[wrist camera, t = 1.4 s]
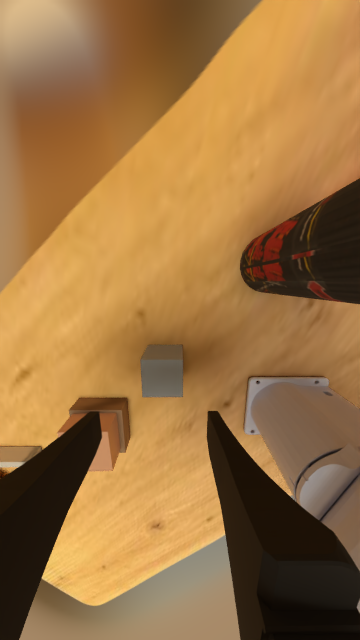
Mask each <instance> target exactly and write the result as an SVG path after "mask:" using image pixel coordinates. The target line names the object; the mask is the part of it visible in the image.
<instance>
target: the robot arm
mask: <svg viewBox="0 0 360 640" xmlns="http://www.w3.org/2000/svg"><path fill="white" fill-rule="evenodd" d="M258 380H259V381H258ZM256 381H258V382H257V383H256ZM315 381H316V382H315ZM328 385H329V380H328V379H327V378H325V377H251V378H250V379H249V381H248V391H247V402H246V412H245V422H244V432H245V433H246V434H248V435H257V434H261V436H262V438H263V440H264V442H265V444H266V446H267V447H268V449H269V451H270V453H271V455H272V457H273V459H274V461H275V462H276V464H277V466H278V468H279V470H280V472H281V474H282V476H283V477H284V479H285V481H286V483H287V485H288V487H289V489H290V491H291V492H292V494H293V496H294V498H295V500H296V502H295V500H293V499H292V498H291V497H290V496H289V495H288V494H287V493H286V492H285V491H284V490H282V489H281V488H280V487H279V486H278V485H277V484H276V483H275V482H274V481H273V480H272V479H271V478H270V477H269V476H268V475H267V474H266V473H265V472H264V471H263V470H262V469H261V468H260V467H259V466H258V465H257V463H256V462H255V461H254V460H253V459H252V458H251V457H250V455H249V454H248V453H247V452H246V451H245V449H244V448H243V447H242V446H241V444H240V443H239V442H238V440H237V439H236V438H235V436H234V435H233V434H232V432H231V431H230V429H229V428H228V427H227V425H226V424H225V422H224V420H223V419H222V417H221V416H220V414H219V412H218V411H208V421H207V442H208V449H209V456H210V460H211V465H212V469H213V473H214V478H215V482H216V486H217V491H218V495H219V499H220V504H221V509H222V515H223V522H224V528H225V534H226V541H227V547H228V554H229V561H230V567H231V574H232V581H233V588H234V595H235V602H236V609H237V616H238V624H239V631H240V638H241V640H360V409H359V408H358V407H356V406H355V405H353V404H352V403H351V402H349V401H348V400H346V399H345V398H343V397H342V396H341V395H339V394H338V393H336V392H335V391H333V390H332V389H331V388H329V387H328ZM251 430H252V431H251ZM101 439H102V430H101V422H100V414H99V411H90V412H89V413H87V414H86V415H85V416H84V417H83V418H81V419H80V420H79V421H78V422H77V423H75V424H74V425H73V426H72V427H71V428H70V429H68V430H67V431H66V432H65V433H63V434H62V435H61V436H60V437H59V438H57V439H56V440H55V441H54V442H52V443H51V444H50V445H48V446H47V447H46V448H45V449H43V450H42V451H41V452H39V453H38V454H37V455H35V456H34V457H33V458H31V459H30V460H28V461H27V462H25V463H24V464H23V465H21V466H20V467H18V468H17V469H15V470H14V471H12V472H11V473H9V474H8V475H6V476H4V477H3V478H1V479H0V640H19V638H20V635H21V633H22V630H23V627H24V624H25V621H26V618H27V616H28V613H29V610H30V607H31V605H32V602H33V599H34V597H35V594H36V591H37V588H38V586H39V583H40V581H41V578H42V575H43V573H44V570H45V567H46V565H47V562H48V560H49V557H50V555H51V552H52V550H53V547H54V544H55V542H56V539H57V537H58V534H59V532H60V530H61V527H62V525H63V522H64V520H65V518H66V515H67V513H68V510H69V508H70V506H71V504H72V502H73V500H74V498H75V496H76V494H77V492H78V490H79V488H80V486H81V484H82V482H83V480H84V478H85V476H86V474H87V472H88V470H89V468H90V466H91V464H92V461H93V459H94V457H95V455H96V453H97V450H98V448H99V445H100V442H101Z"/></svg>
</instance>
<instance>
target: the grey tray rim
mask: <svg viewBox="0 0 360 640" xmlns="http://www.w3.org/2000/svg"><path fill="white" fill-rule="evenodd" d="M41 451H42V449H41V447H0V467H20V466H21V465H23V464H24V463H25V462H27V461H28V460H30V459H31V458H33V457H34V456H35V455H37V454H38V453H39V452H41Z"/></svg>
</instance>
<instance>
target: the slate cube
mask: <svg viewBox="0 0 360 640" xmlns="http://www.w3.org/2000/svg"><path fill="white" fill-rule="evenodd" d="M141 377H142V396H143V397H183V347H182V345H148V346H147V348H146V350H145V352H144V354H143V356H142V358H141Z"/></svg>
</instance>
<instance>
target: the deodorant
mask: <svg viewBox="0 0 360 640" xmlns="http://www.w3.org/2000/svg"><path fill="white" fill-rule="evenodd" d="M240 270H241V275H242V277H243V279H244V281H245V283H246V284H247V285H248V286H249V287H250V288H252V289H254V290H256V291H259V292H264V293H272V294H280V295H288V296H297V297H305V298H313V299H321V300H329V301H338V302H346V303H354V304H360V179H358V180H356V181H354V182H353V183H351V184H349V185H347V186H346V187H344V188H342V189H340V190H339V191H337V192H335V193H333V194H332V195H330V196H328V197H327V198H325V199H323V200H321V201H320V202H318V203H316V204H314V205H313V206H311V207H309V208H307V209H306V210H304V211H302V212H300V213H299V214H297V215H295V216H294V217H292V218H290V219H288V220H287V221H285V222H283V223H281V224H280V225H278V226H276V227H274V228H273V229H271V230H269V231H267V232H266V233H264V234H262V235H261V236H259V237H257V238H255V239H254V240H253V241H252V242H251V243H249V244H248V245H247V247H246V249H245V250H244V252H243V255H242V258H241V263H240Z"/></svg>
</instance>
